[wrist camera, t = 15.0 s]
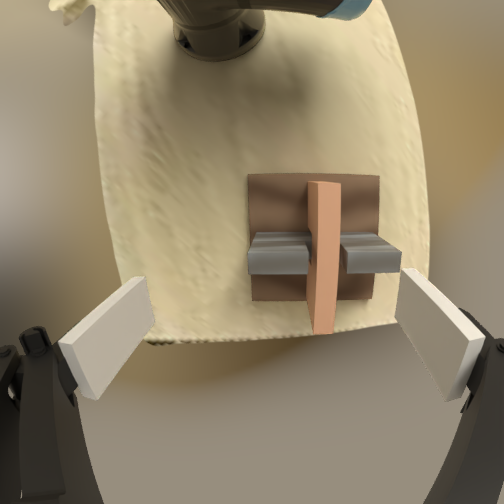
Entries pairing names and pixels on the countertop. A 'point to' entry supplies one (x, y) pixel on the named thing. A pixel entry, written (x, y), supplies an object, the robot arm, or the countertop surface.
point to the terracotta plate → (323, 253)
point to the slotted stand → (300, 237)
